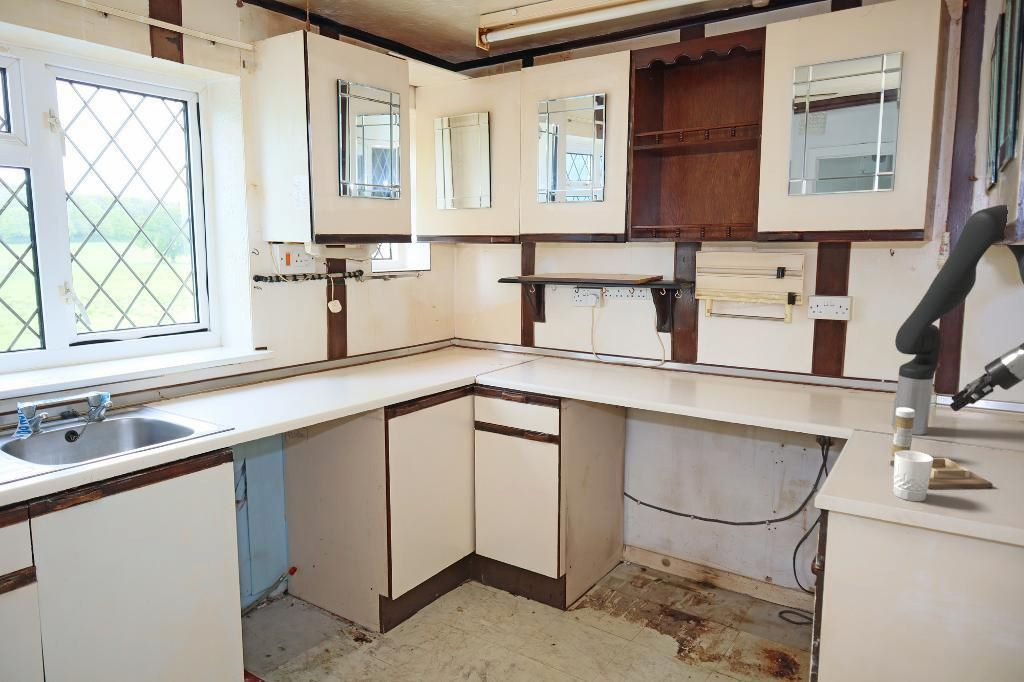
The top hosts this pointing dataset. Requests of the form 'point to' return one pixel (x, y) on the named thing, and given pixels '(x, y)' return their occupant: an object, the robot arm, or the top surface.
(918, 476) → the white cup
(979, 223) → the robot arm
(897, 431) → the sprinkles bottle
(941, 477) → the holder board
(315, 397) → the top surface
